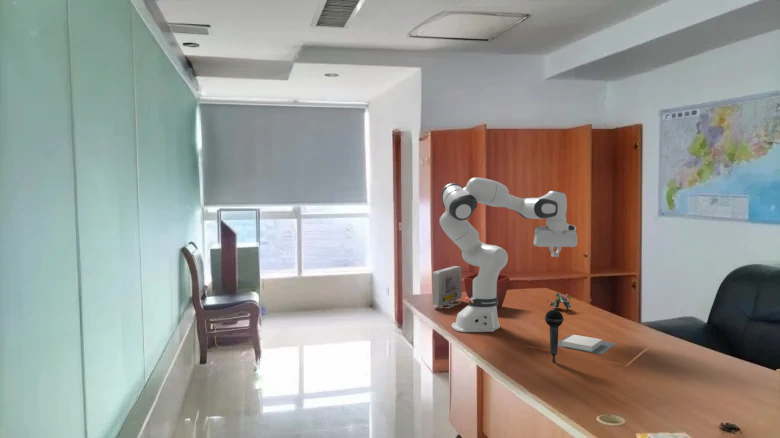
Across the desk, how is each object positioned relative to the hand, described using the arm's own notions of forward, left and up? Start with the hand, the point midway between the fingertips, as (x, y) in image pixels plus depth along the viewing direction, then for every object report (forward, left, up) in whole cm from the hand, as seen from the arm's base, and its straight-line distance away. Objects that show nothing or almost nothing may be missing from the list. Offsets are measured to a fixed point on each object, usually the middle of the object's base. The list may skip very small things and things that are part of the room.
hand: (554, 256), depth 255 cm
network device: (-32, +59, -34) cm, 75 cm away
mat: (-2, -28, -33) cm, 43 cm away
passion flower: (+20, +31, -34) cm, 50 cm away
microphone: (-24, -43, -34) cm, 60 cm away
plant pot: (-14, +47, -34) cm, 59 cm away
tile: (+1, -26, -31) cm, 41 cm away
